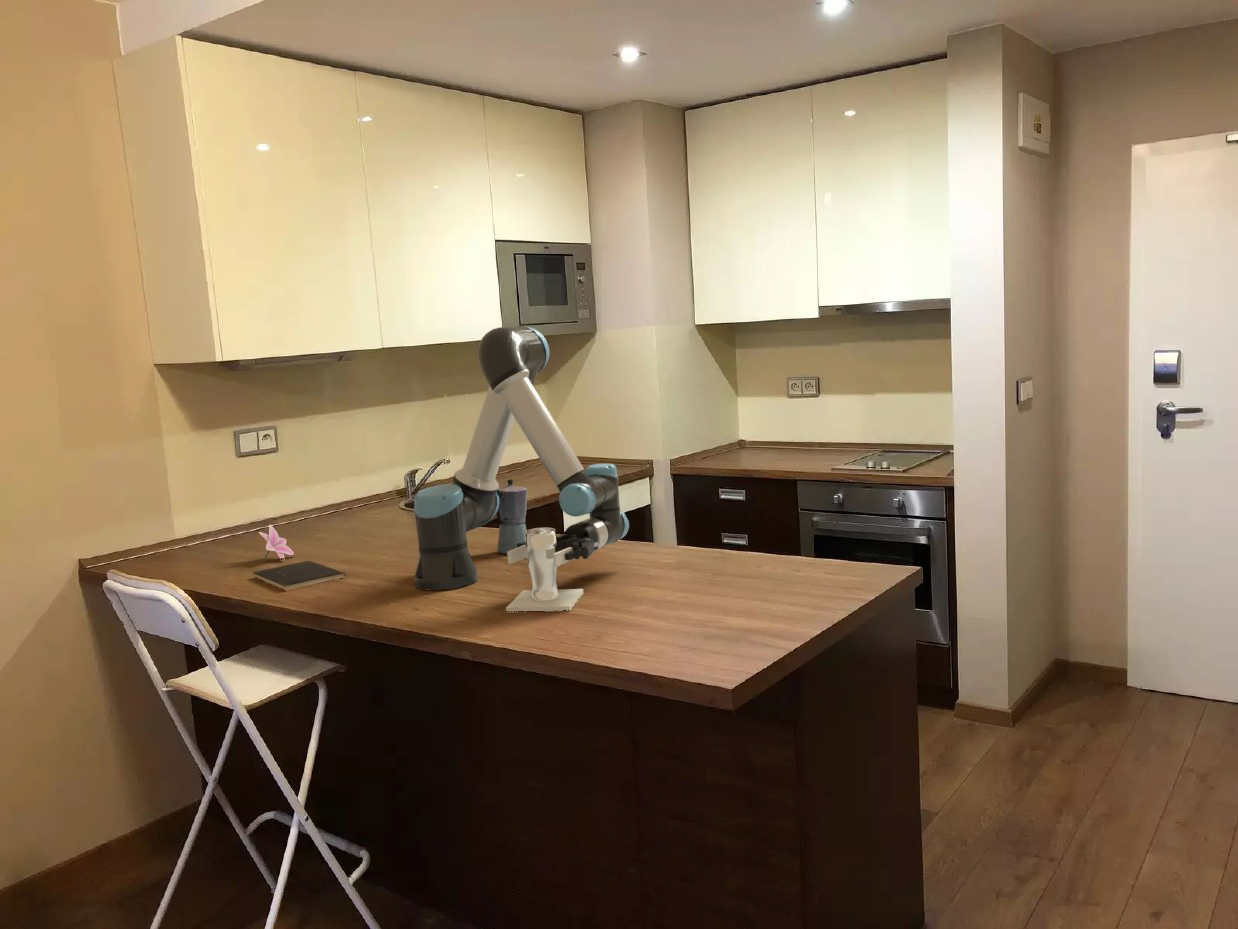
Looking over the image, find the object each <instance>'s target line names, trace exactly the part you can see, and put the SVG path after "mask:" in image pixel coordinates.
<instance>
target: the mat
mask: <svg viewBox="0 0 1238 929" xmlns="http://www.w3.org/2000/svg"><path fill="white" fill-rule="evenodd" d="M584 591H585V590H584V588H567V589H566V588H565V589H561V588H560V589H558V592H559V598H557V599H555V600H552V601H545V602H539V601H534V600H532V589H530V590H526V589H525V590H522V591H521V592H520V593H519V594H518V595H517V596H516V597H515V598H514V599H513V600H512V601H511V602H510V603H509V604H508V605H507V606H506V607H505V612H506V611H510V612H509V613H519V612H518V611H525V612H524V613H527V612H526V611H545V612H564V611H563V610H566V611H565V612H569V611H568V610H570V611H571V610H573V608H574V606H575V605H576V604H577V603H578V601H579V600H580V599H581V597H582V596H583V595H584ZM578 599H579V600H578ZM575 603H576V604H575ZM572 607H573V608H572ZM555 610H556V611H555ZM511 611H512V612H511ZM513 611H515V612H513ZM516 611H517V612H516Z"/></svg>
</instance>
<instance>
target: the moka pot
mask: <svg viewBox="0 0 1238 929" xmlns="http://www.w3.org/2000/svg"><path fill="white" fill-rule="evenodd" d="M513 484H514V480H513V479H507V485H505V486H503V487H499V488H498V491H497V495H498V496H499V507H498V510H497V513H496V517H497V520H498V524H499V527H498V528H499V529H498V539H497V552H498V553H499V552H500V554H504V553H505V554H506V555H507V551H510V550H512V549H515V548H517V544H518V543H522V542H525V532H526V531H527V530H528V529H527V525H526V515H527V504H528V487H523V486H519V485H513Z"/></svg>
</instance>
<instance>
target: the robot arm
mask: <svg viewBox="0 0 1238 929" xmlns="http://www.w3.org/2000/svg"><path fill="white" fill-rule="evenodd" d="M549 359H550V347H549V343H548V341H547V339H546V337H544V335H543V334H542V333H541V332H540V331H539V330H537V329H536V328H533V327H529V326H528V327H527V326H524V325H517V326H510V327H509V326H508V327H506V326H501V327H495V328H493V329H491V330H490V331H488V332H486V333H485V334H484V335H483V336H482V338H481V339H480V342H479V344H478V348H477V361H478V366H479V368H480V371H481V372H482V375H483V376H484V379H485V380H486V382H487V384H488V389H487V391H486V395H485V398H484V400H483V405H482V407H481V410H480V413H479V417H478V420H477V423H476V425H475V429H474V431H473V436H472V438H471V442H470V444H469V448H468V451H467V454H466V457H465V460H464V463H463V466H462V468H460V469H458V470H455V472H454V475H453V477H452V480H451V482H450V483H449V484H448V483H445V484H438V485H434V486H429V487H426V488H424V489H421V490H419V491H418V492H417V493H416V494H415V495H414V501H413V502H414V506H413V512H414V516H415V517H414V518H415V525H416V535H417V544H418V554H419V555H418V561H417V565H416V570H415V573H414V586H416V587H417V588H416V587H415V588H416V589H418V588H420V589H419V590H422V589H429V590H428V591H443V590H442V589H447V590H453V589H459V588H463V587H466V586H465V585H467V586H469V585H472V584H474V583H476V582H477V581H478V580H477V579H478V578H479V576H478V570H477V568H476V565H475V563H474V560H473V558H472V556H471V553H470V552H469V549H468V548H469V547H468V541H467V540H468V539H467V532H470V531H472V530H475V529H477V528H480V527H483V526H484V525H486V524H487V523H489V522H490V521H492V520H493V518H494V517H495V516H496V515H497V510H498V507H499V496H498V495H497V491H498V488H500V486H499V485H500V484H499V483H498V481H497V479H496V478H497V474H498V472H499V468H500V466H501V462H502V459H503V456H504V454H505V450H506V447H507V445H508V442H509V439H510V435H511V433H512V429H513V426H514V424H515V421H516V422H517V424H518V426H519V428H520V429H521V431H522V433H523V434H524V435H525V437H526V439H527V440H528V443H530V445H531V446H532V448H533V449H534V452H535V454H536V455H537V456H538V458H539V460H540V461H541V463H542V465H543V467H544V468H545V469H546V471H547V472H548V474H549V476H550V478H551V480H552V481H553V482H554V484H555V485H556V487H557V489H558V492H559V495H558V496H559V497H558V501H559V506H560V508H561V510H562V511H563V512H564V514H566V515H567V516H568V515H569V516H571V517H577V518H578V517H582V516H584V515H588V514H589V518H586V519H584V520H581V521H579V522H576V523H574V524H571V525H570V526H568V527H567V528H566V529H565V530H564V533H563V534H560V535H559V536H558V535H556V538H557V546H558V552H557V553H554V554H553V563H554V567H557V568H558V567H559V566H562V565H563V564H567V563H569V562H571V561H573V560H578V559H580V558H581V557H582V559H584V560H587V559H589V558H590V557H591V555H592V554H593V553H595V551H597V550H599V549H601V548H604V547H607V546H608V545H611V544H614V543H618V541H619V540H621V539H623V538H624V537H626V535H627V533H628V531H629V528H630V523H629V522H630V520H628V517H627V516H626V514H625V513H624V512H623V511H621V507H620V506H621V505H620V491H619V477H618V469H617V466H616V465H615V464H614V463H595V464H590V465H588V466H586V468H585V469H584V466H583V465H582V463H581V461H580V460H579V459H578V457H577V455H576V453H575V452H574V450H573V449H572V447H571V445H570V444H569V442H568V441H567V439H566V437H565V435H564V434H563V432H562V430H561V428H560V427H559V426H558V424H557V423H556V421H555V419H554V417H553V416H552V414H551V412H550V411H549V409H548V408H547V406H546V405H545V402H544V401H543V399H542V398H541V396H540V394H539V393H538V392H537V390H536V388H535V386H534V383H535V380H536V377H537V375H538V373H539V372H541V371H543V369H544V368H545V367H546V366H547V364H548V362H549ZM506 555H507V564H508V565H509V564H510V565H512V564H515V563H516V562H519V561H522V560H527V557H526V546H525V542H522V543H518V544H517V548H515V549H512V550H510V551H507V554H506ZM462 586H463V587H462ZM439 589H441V590H439Z"/></svg>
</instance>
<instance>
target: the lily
mask: <svg viewBox="0 0 1238 929" xmlns="http://www.w3.org/2000/svg"><path fill="white" fill-rule="evenodd" d="M258 534H260V535H261V537H262V538H263V539H264V540H265V541H266V546H265V550H267V553H266V554H265V556H264V558H265V559H266V558H267V556H268V554H269V552H270V551H272V552H275V553H276V554H277V556H278V557H279V558H280V560H281V558H284V559H285V554H286V555H289V556H291V555H293V554H294V553H295V552H294V551H293V550H292V549H291V548H290V547H289V546H288V545H286V544H287V539H286V538H283V537H280V535H279V534H278V531H277V530H276V529H275V528H274V527H273V525H272V524H269V525H268V534H267V533H265V532H262V531H258Z"/></svg>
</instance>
